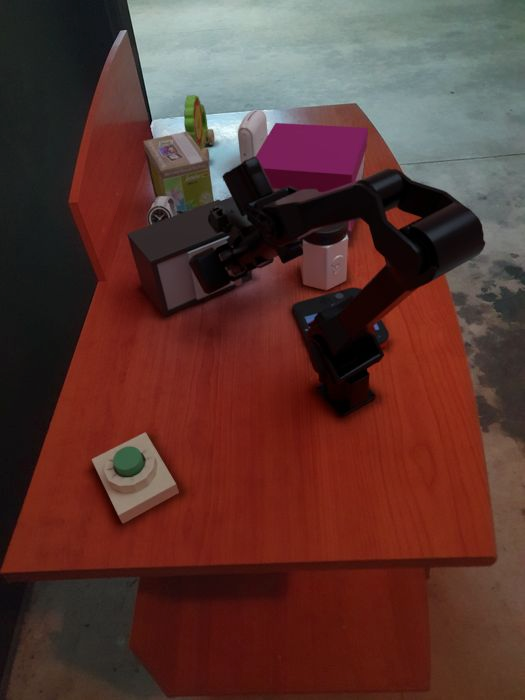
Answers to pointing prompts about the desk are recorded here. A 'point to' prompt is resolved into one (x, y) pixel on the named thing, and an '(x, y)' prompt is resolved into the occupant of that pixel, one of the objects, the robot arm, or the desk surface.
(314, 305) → the game console
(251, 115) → the photo printer
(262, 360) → the desk surface
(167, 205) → the watch
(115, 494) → the button block
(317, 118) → the desk surface
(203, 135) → the toy lion
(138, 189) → the desk surface
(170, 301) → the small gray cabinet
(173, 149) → the tea box
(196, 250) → the gray cabinet door
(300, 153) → the decorative box
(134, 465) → the button
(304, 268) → the jar
